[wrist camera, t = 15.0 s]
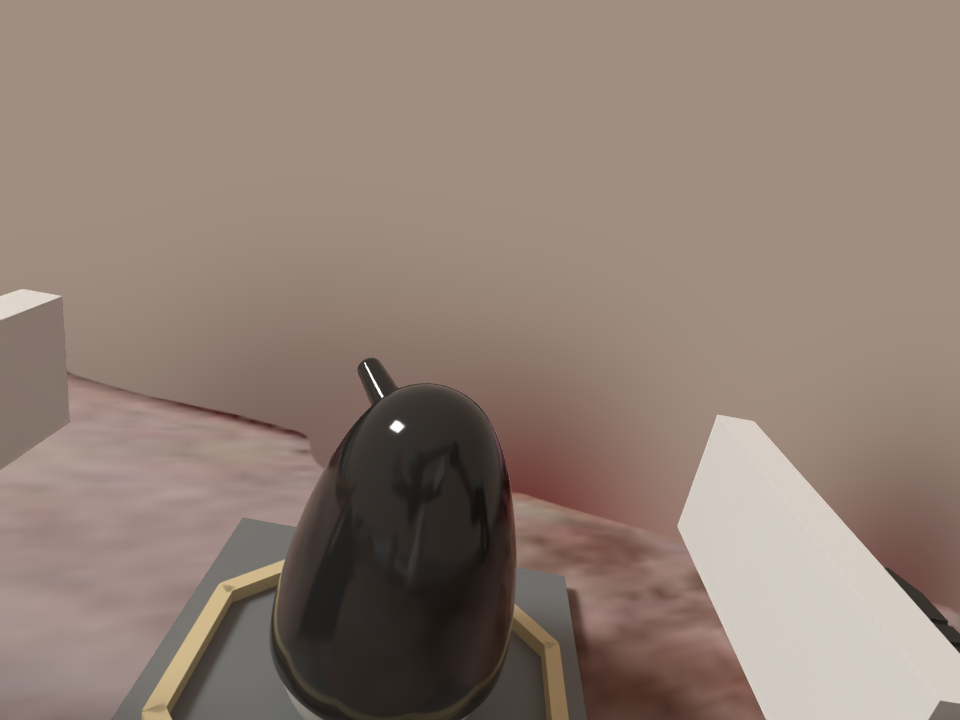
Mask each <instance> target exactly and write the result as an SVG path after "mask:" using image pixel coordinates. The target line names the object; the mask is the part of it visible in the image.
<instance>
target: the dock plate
mask: <svg viewBox="0 0 960 720" xmlns="http://www.w3.org/2000/svg"><path fill="white" fill-rule="evenodd" d="M295 530H296V527H292V526H286V525H281V524H275V523H270V522H264V521H259V520H253V519H248V518H242V520H241V521H240V523H239V524H238V526H237V528H236V529H235V531H234V532H233V534H232V535H231V537H230V538H229V540H228V541H227V543H226V544H225V546H224V547H223V549H222V551H221V552H220V554H219V555H218V557H217V558H216V560H215V561H214V563H213V564H212V566H211V567H210V569H209V571H208V572H207V574H206V575H205V577H204V578H203V580H202V581H201V583H200V584H199V586H198V587H197V589H196V590H195V592H194V594H193V595H192V597H191V598H190V600H189V601H188V603H187V604H186V606H185V607H184V609H183V610H182V612H181V613H180V615H179V617H178V618H177V620H176V621H175V623H174V624H173V626H172V627H171V629H170V630H169V632H168V633H167V635H166V637H165V638H164V640H163V641H162V643H161V644H160V646H159V647H158V649H157V650H156V652H155V653H154V655H153V656H152V658H151V660H150V661H149V663H148V664H147V666H146V667H145V669H144V670H143V672H142V673H141V675H140V676H139V678H138V679H137V681H136V683H135V684H134V686H133V687H132V689H131V690H130V692H129V693H128V695H127V696H126V698H125V699H124V701H123V702H122V704H121V706H120V707H119V709H118V710H117V712H116V713H115V715H114V716H113V718H112V719H111V720H304V719H303V717H302V716H301V715H300V714H299V712H298V711H297V709H296V708H295V706H294V705H293V703H292V701H291V699H290V698H289V695H288V693H287V691H286V688H285V686H284V684H283V682H282V681H281V679H280V677H279V675H278V673H277V671H276V669H275V666H274V664H273V660H272V657H271V652H270V645H269V629H270V619H271V612H272V606H273V601H274V597H275V592H276V589H277V585H278V582H279V578H280V575H281V571H282V568H283V565H284V561H285V558H286V555H287V552H288V549H289V546H290V543H291V541H292V538H293V535H294V533H295ZM465 720H587V714H586V708H585V701H584V695H583V689H582V683H581V676H580V670H579V664H578V657H577V651H576V645H575V639H574V632H573V626H572V620H571V613H570V607H569V601H568V595H567V588H566V582H565V576H561V575H556V574H550V573H545V572H539V571H534V570H528V569H523V568H517V567H516V592H515V604H514V614H513V623H512V631H511V638H510V644H509V648H508V653H507V657H506V660H505V664H504V667H503V670H502V673H501V675H500V678H499V680H498V682H497V684H496V686H495V687H494V689H493V690H492V692H491V693H490V695H489V696H488V697H487V698H486V700H485V701H484V702H483V703H482V704H481V705H480V706H479V707H478V708H477V709H475V710H474V711H473V712H472V713H470V714H469V715H468V717H467V718H466V719H465Z"/></svg>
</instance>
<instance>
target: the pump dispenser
mask: <svg viewBox="0 0 960 720" xmlns="http://www.w3.org/2000/svg"><path fill="white" fill-rule="evenodd" d="M358 374H359V377H360V379H361V382H362V384H363V387H364V389H365V391H366V394H367V396H368V398H369V401H370V404H371V407H370V408H369V409H368V410H367V411H366V412H365V413H364V414H363V415H362V416H361V417H360V418H359V419H358V420H357V421H356V422H355V424H354V425H353V426H352V427H351V428H350V430H349V431H348V432H347V434H346V435H345V437H344V438H343V439H342V441H341V442H340V444H339V446H338V447H337V449H336V450H335V452H334V453H333V455H332V457H331V458H330V460H329V462H328V464H327V465H326V467H325V469H324V471H323V472H322V474H321V476H320V478H319V480H318V482H317V484H316V486H315V488H314V490H313V492H312V494H311V496H310V498H309V500H308V502H307V504H306V507H305V509H304V511H303V513H302V516H301V518H300V520H299V523H298V525H297V527H296V530H295V533H294V535H293V538H292V541H291V543H290V546H289V549H288V552H287V555H286V558H285V561H284V565H283V568H282V571H281V575H280V578H279V582H278V585H277V589H276V592H275V597H274V601H273V606H272V612H271V619H270V629H269V645H270V652H271V657H272V660H273V664H274V666H275V669H276V671H277V673H278V675H279V677H280V679H281V681H282V682H283V684H284V686H285V688H286V691H287V693H288V695H289V698H290V699H291V701H292V703H293V705H294V706H295V708H296V709H297V711H298V712H299V714H300V715H301V716H302V717H303V719H304V720H465V719H466V718H467V717H468V715H469V714H470V713H472V712H473V711H474V710H475V709H477V708H478V707H479V706H480V705H481V704H482V703H483V702H484V701H485V700H486V698H487V697H488V696H489V695H490V693H491V692H492V690H493V689H494V687H495V686H496V684H497V682H498V680H499V678H500V675H501V673H502V670H503V667H504V664H505V660H506V657H507V653H508V648H509V644H510V638H511V631H512V623H513V614H514V604H515V592H516V534H515V521H514V510H513V500H512V493H511V486H510V480H509V475H508V470H507V466H506V462H505V458H504V454H503V451H502V448H501V445H500V442H499V440H498V437H497V435H496V432H495V430H494V428H493V426H492V424H491V422H490V420H489V419H488V417H487V415H486V414H485V413H484V411H483V410H482V409H481V408H480V406H479V405H478V404H476V403H475V402H474V401H473V400H472V399H470V398H469V397H468V396H466V395H465V394H463V393H461V392H459V391H457V390H455V389H453V388H450V387H447V386H444V385H439V384H431V383H422V384H413V385H408V386H405V387H401V388H398V387H397V386H396V385H395V383H394V381H393V380H392V378H391V377H390V376H389V374H388V373H387V371H386V370H385V368H384V367H383V366H382V364H381V363H380V361H379V360H378V359H376V358H367V359H365V360H363V361H362V362H361V363H360V364H359V366H358Z"/></svg>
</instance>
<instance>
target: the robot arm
mask: <svg viewBox="0 0 960 720" xmlns="http://www.w3.org/2000/svg"><path fill="white" fill-rule="evenodd" d="M69 422H70V418H69V401H68V384H67V368H66V351H65V334H64V319H63V302H62V296H58V295H53V294H47V293H41V292H36V291H30V290H25V289H20V290H17V291H14V292H12V293H9V294H6V295H3V296H0V470H1V469H2V468H4V467H5V466H7V465H8V464H10V463H11V462H13V461H14V460H15V459H17V458H18V457H20V456H21V455H23V454H24V453H26V452H27V451H28V450H30V449H31V448H33V447H34V446H36V445H37V444H39V443H40V442H42V441H43V440H44V439H46V438H47V437H49V436H50V435H52V434H53V433H55V432H56V431H57V430H59V429H60V428H62V427H63V426H65V425H66V424H68V423H69ZM677 527H678V529H679V531H680V533H681V536H682V538H683V540H684V542H685V544H686V546H687V549H688V551H689V553H690V555H691V557H692V560H693V562H694V564H695V566H696V568H697V570H698V573H699V575H700V577H701V579H702V581H703V583H704V586H705V588H706V590H707V592H708V594H709V597H710V599H711V601H712V603H713V605H714V607H715V610H716V612H717V614H718V616H719V618H720V621H721V623H722V625H723V627H724V629H725V631H726V634H727V636H728V638H729V640H730V642H731V644H732V647H733V649H734V651H735V653H736V655H737V658H738V660H739V662H740V664H741V666H742V668H743V671H744V673H745V675H746V677H747V679H748V681H749V684H750V686H751V688H752V690H753V692H754V695H755V697H756V699H757V701H758V703H759V705H760V708H761V710H762V712H763V714H764V716H765V719H766V720H960V634H959V633H958V632H957V631H956V630H955V628H954V627H951V626H948V624H947V623H948V621H947V620H946V619H945V618H944V616H943V615H942V614H941V613H940V612H939V611H938V610H937V609H936V608H935V607H934V606H933V605H932V603H931V602H930V601H929V600H928V599H927V598H926V597H925V596H924V595H923V594H922V593H921V592H920V591H918V590H917V589H915V588H914V587H913V586H912V585H910V584H909V583H908V582H906V581H905V580H904V579H902V578H901V577H900V576H898V575H897V574H896V573H894V572H893V571H892V570H890V569H889V568H885V567H883V566H882V565H881V564H880V563H879V562H878V561H877V560H876V559H875V557H874V556H873V555H872V554H871V553H870V552H869V551H868V550H867V548H866V547H865V546H864V545H863V544H862V543H861V542H860V540H859V539H858V538H857V537H856V536H855V535H854V534H853V533H852V531H851V530H850V529H849V528H848V527H847V526H846V525H845V524H844V523H843V521H842V520H841V519H840V518H839V517H838V516H837V515H836V513H835V512H834V511H833V510H832V509H831V508H830V507H829V506H828V504H827V503H826V502H825V501H824V500H823V499H822V498H821V497H820V495H819V494H818V493H817V492H816V491H815V490H814V489H813V487H812V486H811V485H810V484H809V483H808V482H807V481H806V480H805V478H804V477H803V476H802V475H801V474H800V473H799V472H798V470H797V469H796V468H795V467H794V466H793V465H792V464H791V463H790V461H789V460H788V459H787V458H786V457H785V456H784V455H783V454H782V452H781V451H780V450H779V449H778V448H777V447H776V446H775V445H774V443H773V442H772V441H771V440H770V439H769V438H768V437H767V435H765V433H764V432H763V431H762V430H761V429H760V428H759V427H758V425H757V424H756V423H755V422H754V421H750V420H744V419H739V418H733V417H728V416H721V415H717V418H716V420H715V423H714V426H713V429H712V432H711V434H710V437H709V440H708V443H707V446H706V448H705V451H704V454H703V457H702V459H701V462H700V465H699V468H698V471H697V473H696V476H695V479H694V481H693V484H692V488H691V490H690V493H689V496H688V498H687V501H686V504H685V507H684V509H683V512H682V515H681V518H680V520H679V523H678V526H677Z"/></svg>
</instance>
